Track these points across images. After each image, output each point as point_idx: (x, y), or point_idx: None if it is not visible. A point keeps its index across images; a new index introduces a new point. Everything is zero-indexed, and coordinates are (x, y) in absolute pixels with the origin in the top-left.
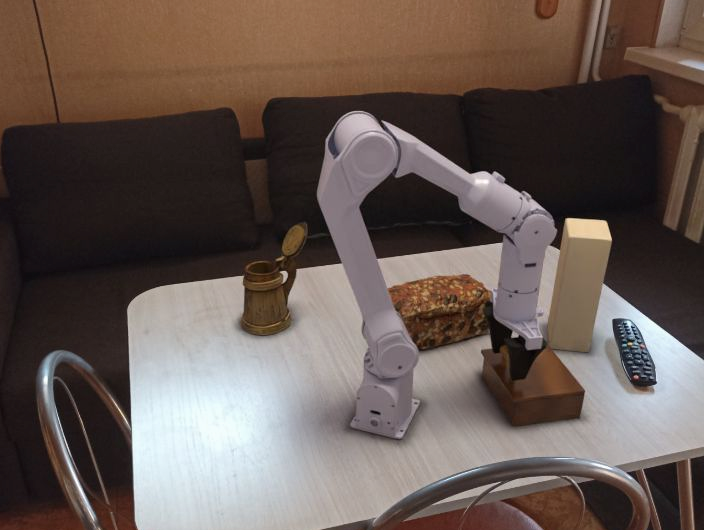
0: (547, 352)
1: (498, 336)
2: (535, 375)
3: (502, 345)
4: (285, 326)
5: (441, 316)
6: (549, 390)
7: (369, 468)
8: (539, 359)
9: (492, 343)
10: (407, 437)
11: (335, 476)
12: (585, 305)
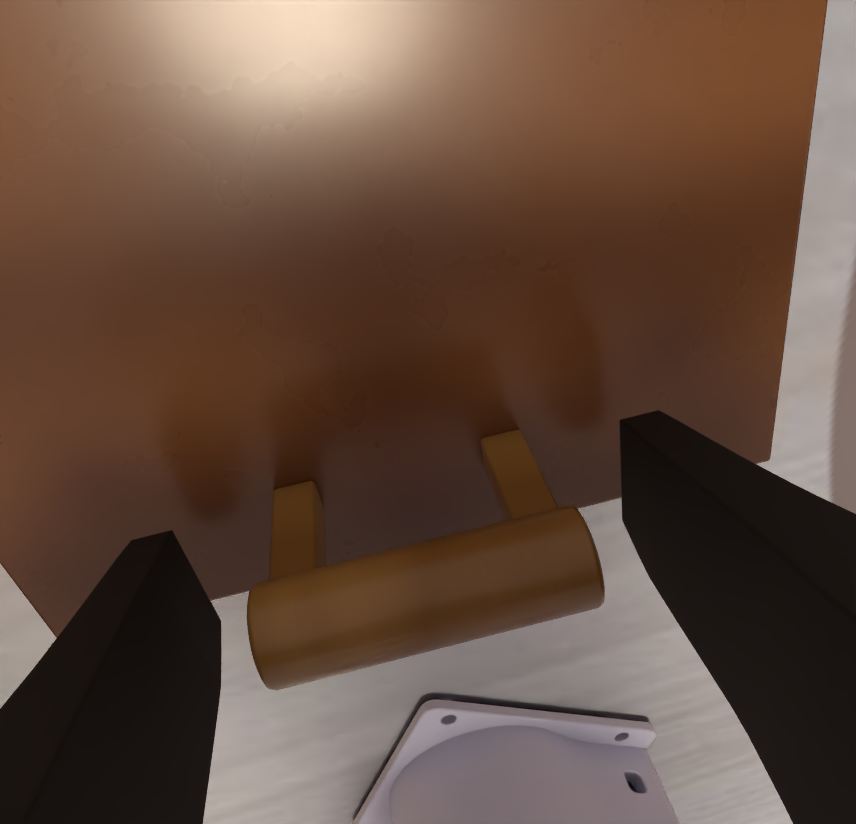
0: None
1: (168, 794)
2: (470, 240)
3: (177, 640)
4: None
5: None
6: (745, 145)
7: (756, 764)
8: (116, 123)
9: (209, 744)
10: (635, 704)
11: (760, 815)
12: None
